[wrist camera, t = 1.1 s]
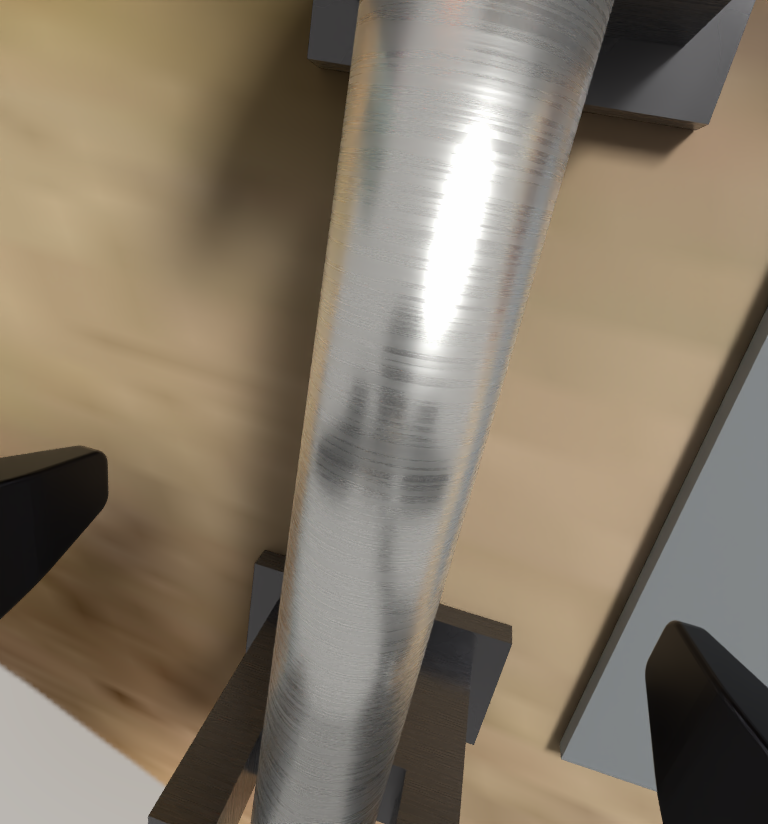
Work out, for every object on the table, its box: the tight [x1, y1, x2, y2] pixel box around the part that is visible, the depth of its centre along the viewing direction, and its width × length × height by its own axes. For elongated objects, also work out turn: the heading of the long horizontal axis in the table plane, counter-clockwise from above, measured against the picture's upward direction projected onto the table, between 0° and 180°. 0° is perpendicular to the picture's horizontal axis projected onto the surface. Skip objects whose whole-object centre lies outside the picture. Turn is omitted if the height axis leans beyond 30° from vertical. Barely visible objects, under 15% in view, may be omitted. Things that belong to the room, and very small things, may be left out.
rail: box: [251, 0, 614, 824], centre depth 9 cm, size 24×3×3 cm, turn 169°
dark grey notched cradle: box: [148, 0, 755, 824], centre depth 11 cm, size 25×9×8 cm, turn 169°
